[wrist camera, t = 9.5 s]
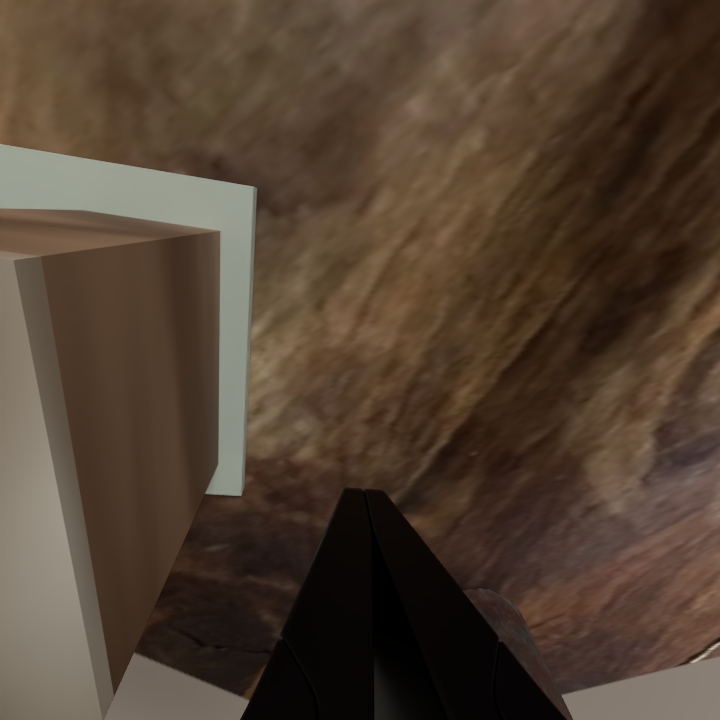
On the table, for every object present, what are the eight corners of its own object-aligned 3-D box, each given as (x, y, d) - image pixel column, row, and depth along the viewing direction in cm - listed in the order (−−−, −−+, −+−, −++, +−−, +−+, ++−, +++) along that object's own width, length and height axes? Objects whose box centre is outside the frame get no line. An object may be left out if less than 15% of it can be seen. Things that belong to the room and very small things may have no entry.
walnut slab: (220, 230, 11) (13, 260, 4) (218, 464, 15) (103, 721, 7) (83, 210, 11) (-452, 199, 3) (112, 456, 14) (-130, 724, 7)
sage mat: (257, 187, 11) (253, 186, 11) (244, 486, 16) (241, 496, 15) (-229, 106, 10) (-262, 99, 9) (-95, 464, 14) (-112, 474, 14)
